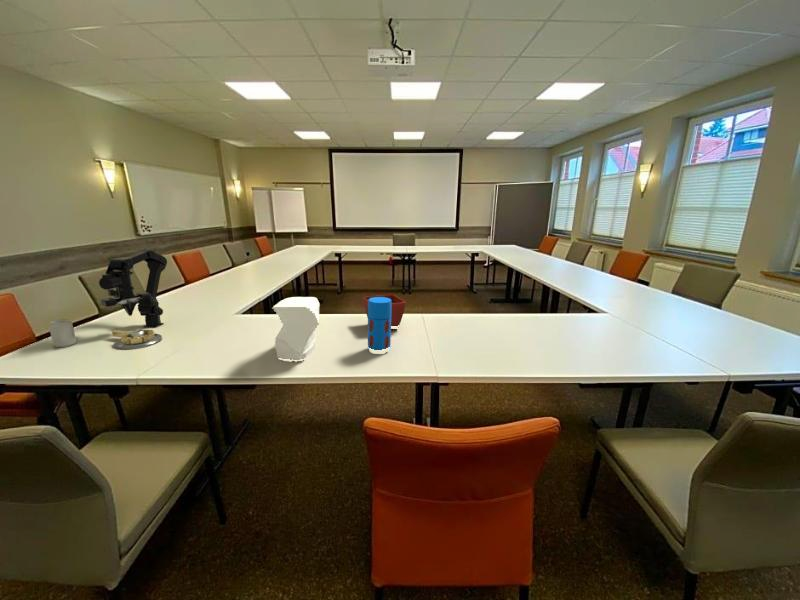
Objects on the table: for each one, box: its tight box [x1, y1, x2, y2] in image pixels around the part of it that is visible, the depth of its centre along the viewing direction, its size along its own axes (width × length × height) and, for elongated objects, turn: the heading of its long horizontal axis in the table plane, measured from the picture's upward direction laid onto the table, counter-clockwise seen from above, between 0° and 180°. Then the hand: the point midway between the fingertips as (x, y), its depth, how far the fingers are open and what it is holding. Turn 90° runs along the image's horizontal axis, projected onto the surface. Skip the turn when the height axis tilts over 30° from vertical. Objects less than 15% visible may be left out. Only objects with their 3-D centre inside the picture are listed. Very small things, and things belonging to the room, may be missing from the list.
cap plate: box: [114, 329, 163, 351], centre depth 158 cm, size 18×18×6 cm
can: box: [48, 318, 77, 348], centre depth 151 cm, size 8×8×12 cm
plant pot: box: [362, 294, 406, 326], centre depth 187 cm, size 19×19×17 cm
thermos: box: [367, 297, 392, 350], centre depth 155 cm, size 11×11×25 cm
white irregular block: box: [271, 296, 321, 360], centre depth 149 cm, size 21×27×26 cm
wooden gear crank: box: [111, 327, 155, 344], centre depth 159 cm, size 20×12×4 cm, turn 75°
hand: (130, 315), depth 164 cm, fingers closed
